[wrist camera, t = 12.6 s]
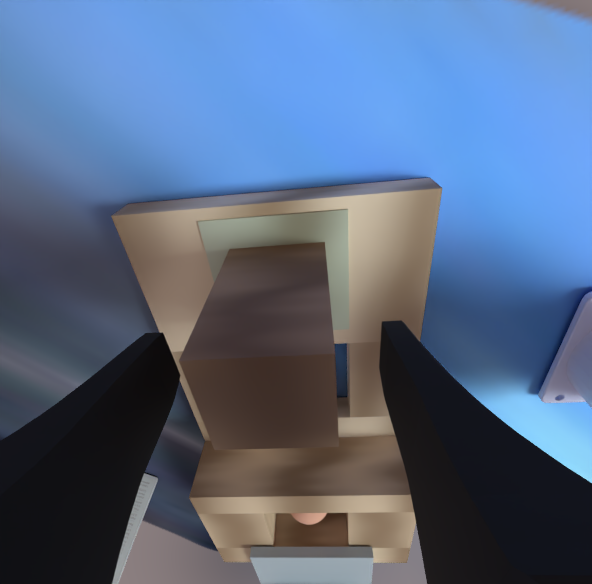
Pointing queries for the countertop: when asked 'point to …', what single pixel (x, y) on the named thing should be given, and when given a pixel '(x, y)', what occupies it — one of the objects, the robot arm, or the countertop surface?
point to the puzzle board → (346, 329)
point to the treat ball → (308, 517)
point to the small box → (135, 521)
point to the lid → (313, 565)
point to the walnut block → (266, 351)
